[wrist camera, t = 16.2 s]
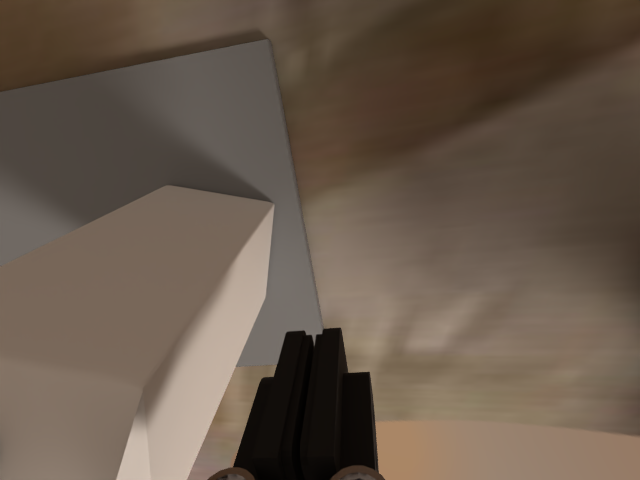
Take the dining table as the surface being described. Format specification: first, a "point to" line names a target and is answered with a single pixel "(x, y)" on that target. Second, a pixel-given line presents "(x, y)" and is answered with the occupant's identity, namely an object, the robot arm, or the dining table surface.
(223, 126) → the mat
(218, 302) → the milk carton
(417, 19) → the dining table surface
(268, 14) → the dining table surface
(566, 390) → the dining table surface
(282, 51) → the dining table surface
